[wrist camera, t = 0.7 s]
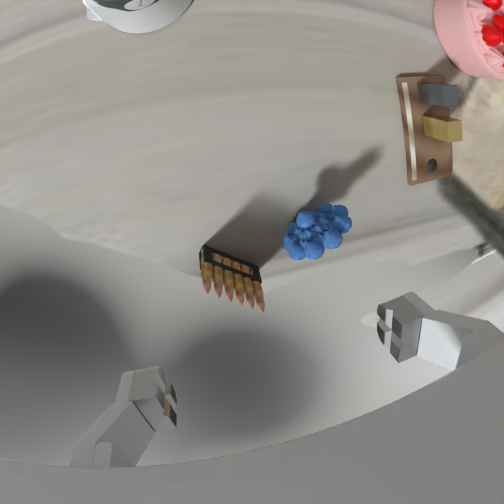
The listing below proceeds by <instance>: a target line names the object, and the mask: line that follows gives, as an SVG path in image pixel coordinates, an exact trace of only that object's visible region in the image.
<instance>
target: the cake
mask: <svg viewBox="0 0 504 504" xmlns="http://www.w3.org/2000/svg"><path fill="white" fill-rule="evenodd" d="M433 19H434V26H435V30H436V33H437V36H438V38H439V41H440V43H441V45H442V48H443V49H444V51H445V52H446V54H447V55H448V57H449V58H450V60H451V61H452V62H453V63H454V64H455V65H456V66H457V67H458V68H459V69H460V70H462V71H463V72H465V73H466V74H468V75H471V76H476V77H483V78H491V79H498V80H504V0H435V3H434V8H433Z"/></svg>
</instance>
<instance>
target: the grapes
mask: <svg viewBox="0 0 504 504" xmlns="http://www.w3.org/2000/svg"><path fill="white" fill-rule="evenodd" d="M296 222H297V223H291V224H290V225H289V227H288V236H285V238H284V240H283V247H284V249H285V250H286V251H289V256H290V257H291V258H292V259H294V260H301V259H304V258H305V257H307V258H308V259H318V258H320V257H322V255H323V254H324V249H325V248H324V246H325V247H326V248H330V249H333V248H337V247H339V246H340V244H341V243H342V239H343V237H342V234H341V233H346V232H348V231H349V230H350V228H351V226H352V221H351V218H349V217H348V210H347V208H346V207H345V206H343V205H334V206H332V205H331V204H326V203H325V204H319V206H318V208H317V211H316V212H314V211H310V210H309V211H301V212H299V213H298V215H297V219H296Z"/></svg>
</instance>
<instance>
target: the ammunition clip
mask: <svg viewBox="0 0 504 504" xmlns="http://www.w3.org/2000/svg"><path fill="white" fill-rule="evenodd" d="M199 259H200V270H201V276H202V280H203V287H204V290H205V292H206V293H209V291H210V288H211V278H212V281H213V283H214V289H215V293H216V295H217V296H218V297H220V296H221V294H222V282H223V286H224V288H225V292H226V296H227V298H228V300H229V301H232V299H233V289H234V291H235V294H236V298H237V300H238V302H239V304H240V305H243V302H244V294H245V297H246V300H247V303H248V305H249V306H250V308H252V309H253V307H254V298H255V300H256V303H257V305H258V308H259V309H260V311H261V312H264V308H265V305H264V298H263V291H262V287H261V283H262V280H261V276H260V272H259V268H258V266H256V265H253V264H250V263H248V262H245V261H243V260H240V259H238V258H235V257H233V256H230V255H228V254H225V253H223V252H220V251H218V250H215V249H213V248H210V247H208V246H205V245H203V246H202V248H201V250H200V252H199Z"/></svg>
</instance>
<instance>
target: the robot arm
mask: <svg viewBox="0 0 504 504" xmlns="http://www.w3.org/2000/svg"><path fill="white" fill-rule="evenodd" d="M191 2H192V0H83V3H84V4H85V5H86V6H87V17H88V18H89V19H90V20H92V21H96V22H105V23H108V24H110V25H111V26H113V27H114V28H116V29H118V30H120V31H123V32H127V33H147V32H151V31H155V30H158V29H161V28H163V27H165V26H167V25H169V24H171V23H172V22H174V21H175V20H176V19H178V18H179V17H180V16H181V15H182V14H183V13H184V12H185V11H186V10H187V8H188V7H189V5H190V4H191ZM377 314H378V315H379V317H380V319H379V321H378V322H377V332H378V336H379V338H380V340H381V342H382V343H383V345H385V346H387V347H390V353H391V355H392V356H393V357H394V358H395V359H396V361H397V362H398V363H400V362H402V361H404V360H406V359H409V358H411V357H413V356H416V355H417V356H418V357H420V358H422V359H425V360H427V361H429V362H432V363H434V364H436V365H439V366H441V367H443V368H446V369H448V370H450V371H452V372H450V373H448V374H447V375H445V376H443V377H441V378H439V379H438V380H436V381H434V382H432V383H431V384H429V385H427V386H425V387H423V388H421V389H419V390H417V391H415V392H413V393H411V394H409V395H407V396H405V397H403V398H401V399H399V400H397V401H394V402H392V403H390V404H388V405H385V406H383V407H381V408H379V409H376V410H374V411H372V412H369V413H367V414H364V415H362V416H360V417H357V418H355V419H352V420H350V421H347V422H344V423H341V424H339V425H336V426H333V427H330V428H327V429H325V430H322V431H319V432H315V433H313V434H309V435H306V436H303V437H300V438H297V439H293V440H290V441H286V442H282V443H279V444H275V445H271V446H267V447H263V448H259V449H255V450H250V451H246V452H241V453H236V454H231V455H226V456H221V457H215V458H209V459H203V460H196V461H189V462H182V463H173V464H163V465H151V466H135V465H136V464H137V462H138V461H139V459H140V457H141V456H142V454H143V453H144V451H145V449H146V448H147V446H148V445H149V443H150V441H151V440H152V438H153V436H154V435H155V432H158V431H164V430H170V429H175V428H176V427H177V414H176V413H175V411H174V408H175V407H176V406H177V397H176V392H175V390H174V387H173V385H172V383H171V382H170V381H168V380H166V372H165V371H164V369H163V367H161V366H158V367H152V368H146V369H140V370H134V371H128V372H124V373H123V374H122V377H121V381H120V385H119V390H118V394H117V399H116V403H113V404H111V405H110V406H109V408H108V409H107V410H106V411H105V412H104V413H103V414H102V415H101V416H100V417H99V418H98V419H97V420H96V421H95V422H94V423H93V424H92V426H90V427H89V429H88V430H87V431H86V432H85V433H84V434H83V435H82V436H81V437H80V438H79V439H78V440H77V441H76V442H75V446H74V450H73V455H72V459H71V463H70V466H56V465H45V464H35V463H28V462H21V461H15V460H9V459H4V458H0V504H504V333H503V332H501V331H500V330H499V329H498V328H497V327H495V326H494V325H493V324H492V323H490V322H489V321H486V320H482V319H477V318H473V317H468V316H464V315H459V314H455V313H450V312H446V311H442V310H437V311H435V310H434V309H433V308H432V307H430V306H429V305H428V304H427V303H426V302H425V301H423V300H422V299H421V298H420V297H419V296H417V295H416V294H415V293H413V292H409V293H407V294H404V295H402V296H400V297H398V298H395V299H393V300H390V301H387V302H385V303H382V304H379V305H378V308H377Z"/></svg>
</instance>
